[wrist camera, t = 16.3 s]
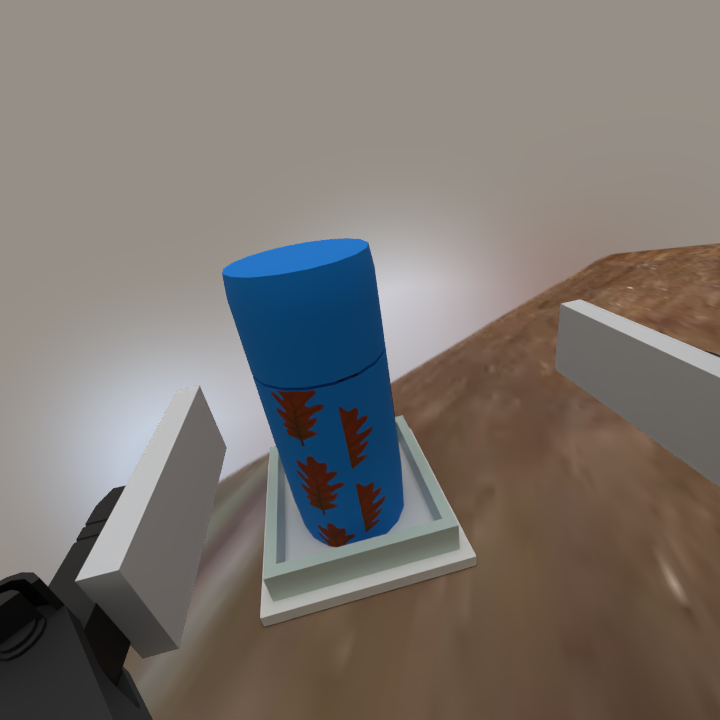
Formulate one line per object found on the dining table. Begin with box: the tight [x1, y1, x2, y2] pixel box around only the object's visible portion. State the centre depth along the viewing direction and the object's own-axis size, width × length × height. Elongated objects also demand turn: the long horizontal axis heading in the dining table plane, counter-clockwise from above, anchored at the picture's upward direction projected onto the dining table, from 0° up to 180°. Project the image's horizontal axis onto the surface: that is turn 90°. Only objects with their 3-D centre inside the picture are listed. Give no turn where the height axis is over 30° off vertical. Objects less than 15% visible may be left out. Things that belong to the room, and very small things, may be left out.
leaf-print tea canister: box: [222, 239, 404, 547], centre depth 32 cm, size 11×11×25 cm
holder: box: [260, 415, 476, 627], centre depth 37 cm, size 18×18×4 cm
